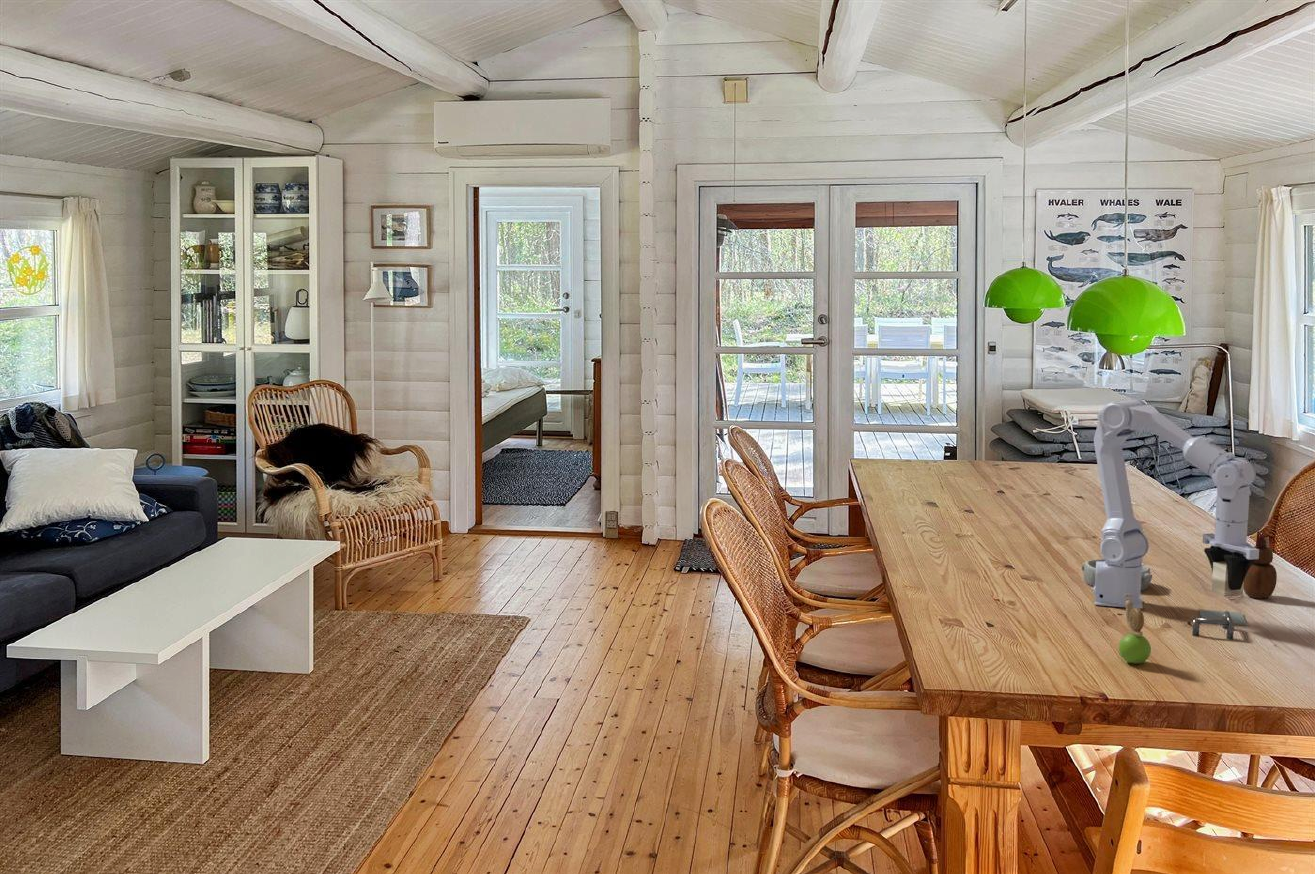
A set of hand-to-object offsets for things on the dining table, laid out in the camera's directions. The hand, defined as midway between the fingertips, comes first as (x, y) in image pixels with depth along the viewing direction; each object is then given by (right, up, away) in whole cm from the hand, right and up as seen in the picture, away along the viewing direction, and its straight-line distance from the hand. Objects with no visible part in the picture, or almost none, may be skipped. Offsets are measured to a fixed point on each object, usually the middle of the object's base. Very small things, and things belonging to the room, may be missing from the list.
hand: (1227, 586), depth 221 cm
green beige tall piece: (-27, -12, -19) cm, 35 cm away
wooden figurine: (+18, -6, +22) cm, 29 cm away
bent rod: (-4, -9, -2) cm, 10 cm away
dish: (-9, -5, +33) cm, 35 cm away
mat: (+2, -8, +7) cm, 10 cm away
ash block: (0, -1, 0) cm, 1 cm away
